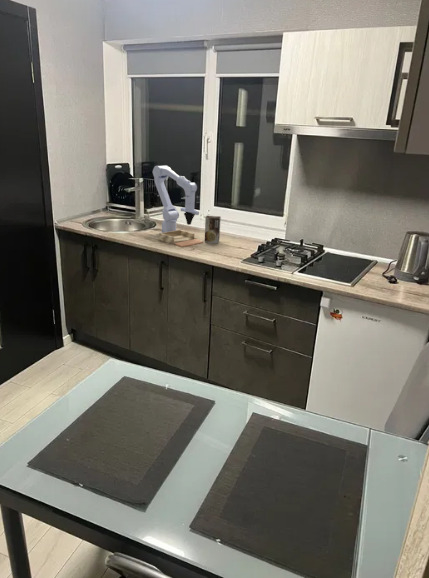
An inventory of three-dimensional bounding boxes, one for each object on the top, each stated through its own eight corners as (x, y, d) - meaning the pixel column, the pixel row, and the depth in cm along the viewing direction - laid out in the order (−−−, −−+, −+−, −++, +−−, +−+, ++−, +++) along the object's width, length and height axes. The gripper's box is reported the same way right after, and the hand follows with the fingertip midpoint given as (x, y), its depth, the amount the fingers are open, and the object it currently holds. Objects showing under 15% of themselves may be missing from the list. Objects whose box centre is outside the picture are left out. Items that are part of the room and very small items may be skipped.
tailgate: (174, 243, 256) (181, 246, 252) (196, 238, 268) (203, 241, 264) (174, 244, 256) (181, 247, 252) (195, 240, 268) (203, 243, 264)
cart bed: (158, 240, 265) (159, 233, 263) (180, 236, 278) (180, 229, 276) (172, 245, 257) (173, 237, 255) (194, 240, 269) (194, 233, 268)
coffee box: (219, 241, 272) (221, 216, 266) (218, 244, 266) (220, 218, 260) (205, 240, 272) (206, 215, 267) (204, 242, 266) (205, 217, 261)
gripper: (177, 201, 266) (176, 222, 271) (193, 205, 257) (192, 227, 262) (185, 200, 271) (184, 221, 276) (201, 204, 262) (200, 226, 267)
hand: (189, 224), depth 270 cm, fingers closed
